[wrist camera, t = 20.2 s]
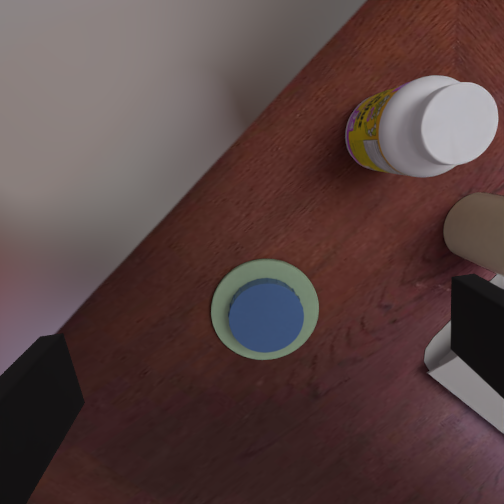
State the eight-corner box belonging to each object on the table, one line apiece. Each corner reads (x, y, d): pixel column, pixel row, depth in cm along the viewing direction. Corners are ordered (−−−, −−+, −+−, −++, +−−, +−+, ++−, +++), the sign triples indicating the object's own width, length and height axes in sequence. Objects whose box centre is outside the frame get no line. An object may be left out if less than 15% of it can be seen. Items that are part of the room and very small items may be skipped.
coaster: (203, 265, 37) (203, 267, 36) (313, 252, 37) (315, 253, 36) (219, 363, 39) (219, 366, 39) (321, 349, 40) (322, 352, 39)
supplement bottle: (390, 78, 33) (486, 35, 21) (426, 141, 34) (535, 135, 22) (328, 126, 34) (384, 111, 21) (366, 184, 35) (439, 203, 23)
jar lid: (303, 340, 39) (306, 348, 37) (232, 349, 38) (232, 357, 37) (299, 273, 37) (302, 278, 35) (224, 281, 36) (223, 287, 35)
